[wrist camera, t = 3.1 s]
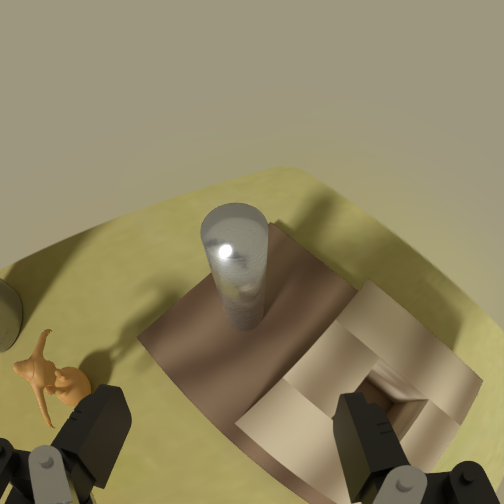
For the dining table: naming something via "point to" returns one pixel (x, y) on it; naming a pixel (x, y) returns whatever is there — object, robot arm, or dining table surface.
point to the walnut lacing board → (252, 346)
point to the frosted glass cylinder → (238, 261)
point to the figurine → (52, 379)
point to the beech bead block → (348, 379)
